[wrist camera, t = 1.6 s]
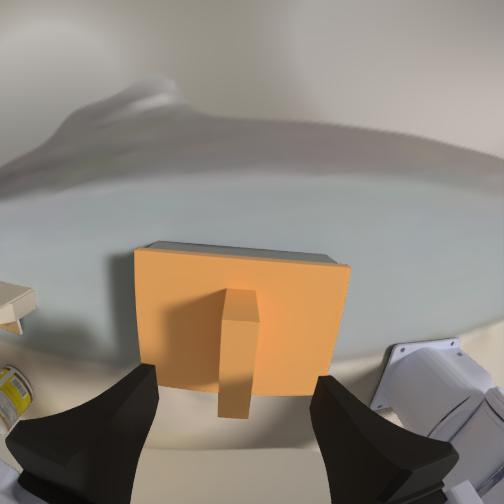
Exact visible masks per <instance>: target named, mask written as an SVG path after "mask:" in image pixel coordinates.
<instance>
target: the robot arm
mask: <svg viewBox="0 0 504 504" xmlns="http://www.w3.org/2000/svg"><path fill="white" fill-rule="evenodd" d="M460 343H461V339H460V338H458V337H457V338H450V339H443V340H435V341H426V342H416V343H405V344H397V345H395V346H394V347H393V349H392V352H391V355H390V358H389V361H388V363H387V366H386V369H385V371H384V374H383V377H382V379H381V382H380V384H379V387H378V389H377V392H376V394H375V396H374V399H373V401H372V403H371V405H370V408H371V409H370V408H368V407H367V406H366V405H365V404H363V403H362V402H361V401H360V400H358V399H357V398H356V397H355V396H354V395H353V394H351V393H350V392H349V391H348V390H347V389H346V388H345V387H344V386H343V385H341V384H340V383H339V382H338V381H337V380H336V379H335V378H334V377H333V376H331V375H329V376H318V380H317V383H316V387H315V390H314V394H313V397H312V401H311V404H310V407H309V408H310V415H311V421H312V426H313V429H314V432H315V435H316V439H317V442H318V445H319V448H320V451H321V454H322V457H323V460H324V463H325V467H326V471H327V476H328V482H329V488H330V494H331V503H332V504H504V466H503V465H504V389H503V388H501V387H499V386H498V387H495V386H494V382H493V379H492V377H491V375H490V374H489V373H488V371H486V370H485V369H484V368H483V367H482V366H481V365H479V364H478V363H477V362H476V361H475V360H473V359H472V358H471V357H470V356H469V355H467V354H466V353H465V352H464V351H463V350H461V349H460V348H459V345H460ZM402 348H403V349H402ZM401 349H402V350H401ZM158 401H159V393H158V385H157V377H156V367H155V365H152V364H146V363H142V364H140V365H139V366H138V367H136V368H135V369H134V370H133V371H132V372H130V373H129V374H128V375H127V376H125V377H124V378H123V379H121V380H120V381H119V382H117V383H116V384H115V385H113V386H112V387H111V388H109V389H108V390H106V391H105V392H103V393H102V394H100V395H99V396H97V397H95V398H93V399H92V400H90V401H88V402H86V403H84V404H82V405H80V406H77V407H75V408H72V409H70V410H67V411H64V412H61V413H58V414H55V415H51V416H47V417H42V418H37V419H29V420H20V421H19V422H18V423H17V424H16V426H15V427H14V428H13V430H12V431H11V432H10V434H9V435H8V436H7V437H6V439H5V442H6V446H7V448H8V449H9V451H10V452H11V454H12V455H13V457H14V458H15V459H16V461H17V462H18V463H19V464H20V466H21V467H22V468H23V469H24V470H23V472H22V473H21V474H20V473H19V472H18V471H17V470H16V469H14V468H13V467H12V466H10V465H8V464H7V463H6V462H4V461H3V460H1V459H0V504H130V501H131V494H132V488H133V482H134V478H135V473H136V468H137V464H138V460H139V457H140V453H141V451H142V448H143V445H144V443H145V440H146V438H147V435H148V433H149V430H150V428H151V425H152V422H153V420H154V417H155V414H156V410H157V406H158ZM391 407H392V409H393V410H394V412H395V413H396V415H397V417H398V418H399V420H400V421H401V423H402V424H403V426H404V428H405V429H404V428H401V427H399V426H397V425H395V424H393V423H392V422H390V421H388V420H386V419H385V418H383V417H381V416H380V415H378V414H377V413H375V412H374V411H373V410H379V409H385V408H391ZM502 466H503V467H502ZM501 467H502V468H501ZM500 468H501V469H500ZM499 469H500V470H499ZM498 470H499V471H498ZM497 471H498V472H497ZM496 472H497V473H496ZM495 473H496V474H495ZM494 474H495V475H494ZM493 475H494V476H493ZM492 476H493V477H492ZM491 477H492V478H491ZM490 478H491V479H490ZM489 479H490V480H489ZM482 485H483V486H482Z"/></svg>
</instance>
